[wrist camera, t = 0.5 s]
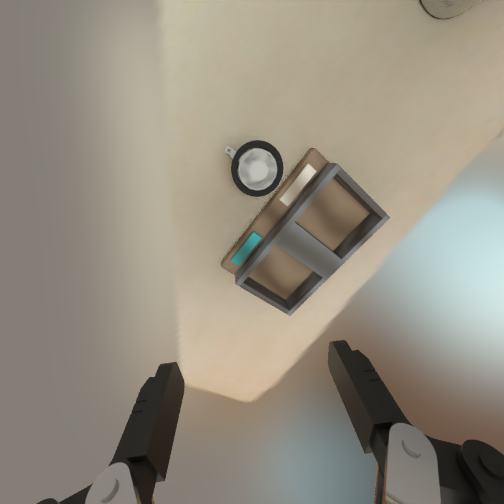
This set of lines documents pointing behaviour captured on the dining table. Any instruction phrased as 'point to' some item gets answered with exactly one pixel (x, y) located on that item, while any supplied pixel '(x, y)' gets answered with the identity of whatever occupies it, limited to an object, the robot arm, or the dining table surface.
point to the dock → (314, 218)
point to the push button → (256, 168)
